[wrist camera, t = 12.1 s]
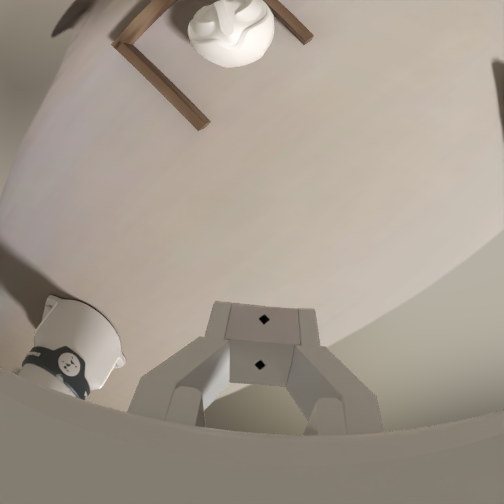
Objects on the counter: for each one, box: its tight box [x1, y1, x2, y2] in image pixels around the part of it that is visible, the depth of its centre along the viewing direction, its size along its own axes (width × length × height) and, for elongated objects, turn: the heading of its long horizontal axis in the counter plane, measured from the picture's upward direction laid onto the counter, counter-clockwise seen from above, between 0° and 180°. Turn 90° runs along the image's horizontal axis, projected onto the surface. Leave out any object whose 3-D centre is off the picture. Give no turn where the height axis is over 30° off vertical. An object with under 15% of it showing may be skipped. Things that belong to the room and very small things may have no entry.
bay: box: [111, 0, 314, 131], centre depth 25 cm, size 15×14×2 cm
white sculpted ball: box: [188, 0, 274, 68], centre depth 23 cm, size 8×8×8 cm
